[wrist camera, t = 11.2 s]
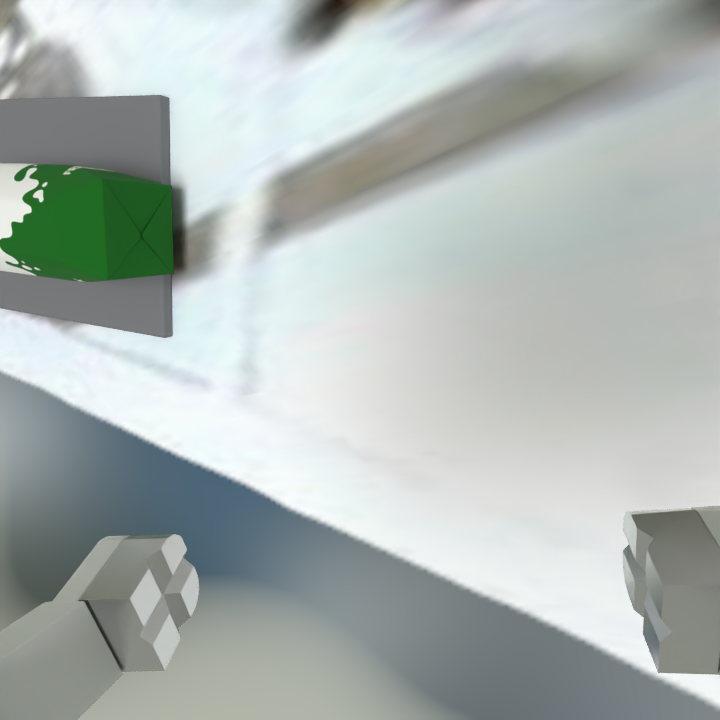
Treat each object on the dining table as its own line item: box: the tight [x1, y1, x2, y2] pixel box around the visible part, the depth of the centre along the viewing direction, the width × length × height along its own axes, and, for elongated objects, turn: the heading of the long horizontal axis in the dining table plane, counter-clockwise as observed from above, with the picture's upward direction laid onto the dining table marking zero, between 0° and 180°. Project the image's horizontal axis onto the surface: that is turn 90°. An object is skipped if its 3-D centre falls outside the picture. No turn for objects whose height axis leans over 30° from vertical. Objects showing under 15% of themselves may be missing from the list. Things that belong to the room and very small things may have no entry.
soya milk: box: [0, 163, 174, 282], centre depth 46 cm, size 9×9×20 cm
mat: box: [0, 95, 172, 338], centre depth 51 cm, size 20×24×1 cm
